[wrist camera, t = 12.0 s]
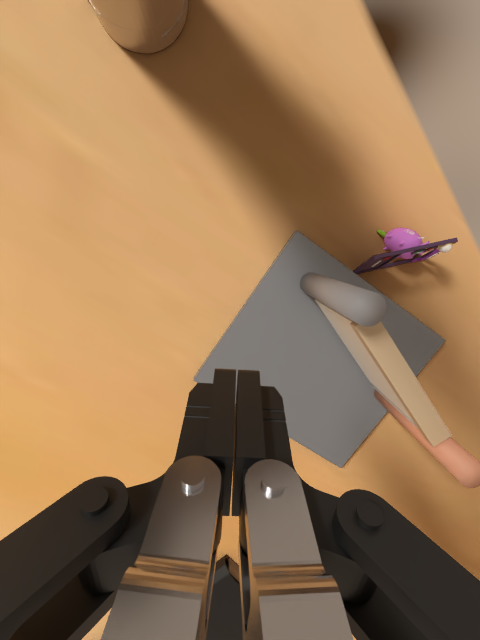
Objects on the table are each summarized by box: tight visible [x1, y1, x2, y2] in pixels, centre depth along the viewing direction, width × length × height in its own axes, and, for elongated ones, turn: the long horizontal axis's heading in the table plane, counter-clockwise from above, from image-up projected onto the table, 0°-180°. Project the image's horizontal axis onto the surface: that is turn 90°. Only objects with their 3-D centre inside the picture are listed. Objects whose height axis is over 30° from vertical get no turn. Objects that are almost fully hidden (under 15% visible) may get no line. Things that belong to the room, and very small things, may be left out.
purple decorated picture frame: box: [353, 228, 458, 274], centre depth 38 cm, size 7×5×9 cm
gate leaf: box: [315, 299, 452, 447], centre depth 35 cm, size 14×2×13 cm, turn 36°
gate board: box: [194, 230, 480, 488], centre depth 35 cm, size 24×22×17 cm
